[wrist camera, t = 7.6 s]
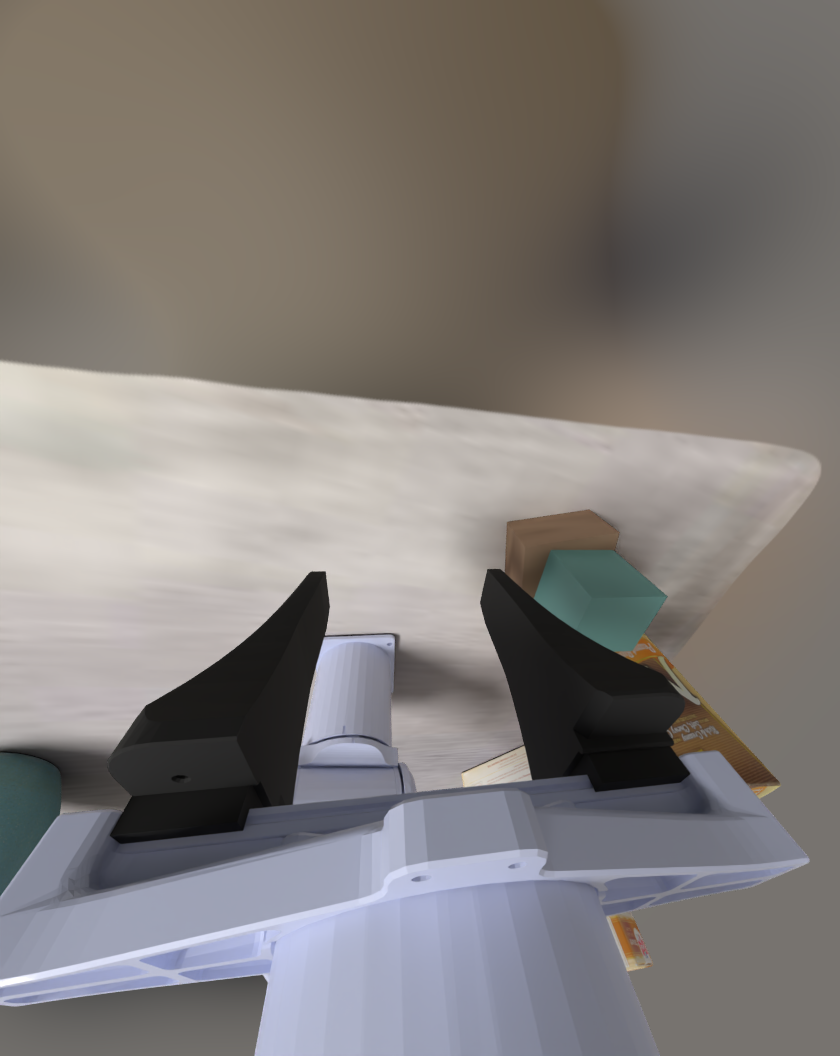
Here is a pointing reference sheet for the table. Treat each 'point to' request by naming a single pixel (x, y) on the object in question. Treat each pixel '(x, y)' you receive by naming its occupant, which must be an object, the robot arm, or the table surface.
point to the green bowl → (25, 809)
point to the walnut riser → (552, 543)
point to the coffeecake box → (517, 770)
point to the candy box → (703, 724)
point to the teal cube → (599, 596)
